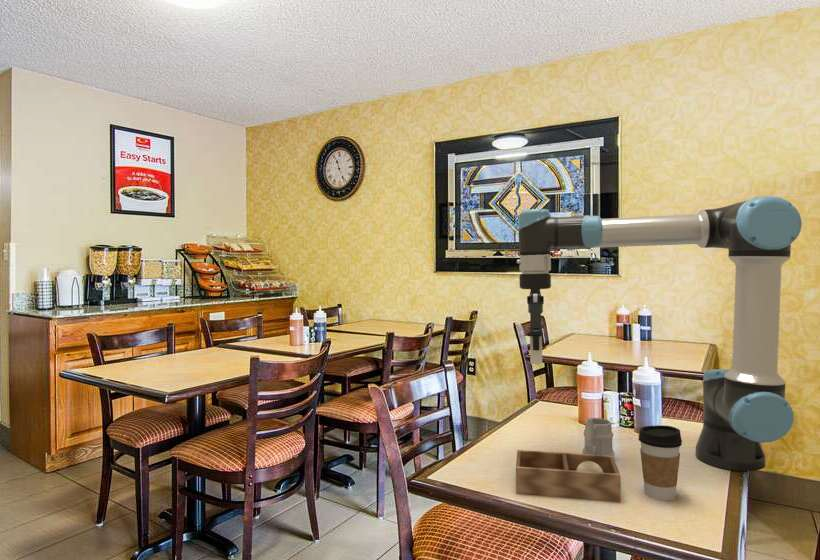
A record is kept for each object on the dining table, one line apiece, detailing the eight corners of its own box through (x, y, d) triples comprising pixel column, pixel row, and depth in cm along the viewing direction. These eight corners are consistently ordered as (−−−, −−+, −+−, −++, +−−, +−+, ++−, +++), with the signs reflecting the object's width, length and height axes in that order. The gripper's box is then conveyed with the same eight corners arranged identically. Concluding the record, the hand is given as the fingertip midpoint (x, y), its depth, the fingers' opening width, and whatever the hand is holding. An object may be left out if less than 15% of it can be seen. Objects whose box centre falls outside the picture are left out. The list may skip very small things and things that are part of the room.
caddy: (612, 483, 120) (612, 455, 119) (620, 506, 109) (620, 475, 108) (517, 476, 124) (517, 449, 124) (516, 497, 114) (515, 467, 113)
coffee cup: (687, 508, 107) (687, 436, 107) (643, 505, 109) (643, 434, 108) (675, 490, 115) (675, 423, 115) (634, 488, 117) (634, 422, 117)
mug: (618, 457, 135) (618, 411, 135) (603, 472, 126) (602, 423, 126) (589, 451, 140) (588, 407, 140) (572, 465, 131) (572, 418, 130)
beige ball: (602, 484, 118) (602, 457, 117) (606, 495, 112) (605, 468, 112) (574, 482, 119) (574, 456, 119) (576, 493, 113) (576, 466, 113)
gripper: (520, 272, 141) (522, 349, 142) (517, 274, 117) (519, 368, 118) (549, 271, 139) (550, 350, 140) (552, 273, 115) (553, 369, 116)
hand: (536, 358), depth 129 cm, fingers open, 13 cm apart
